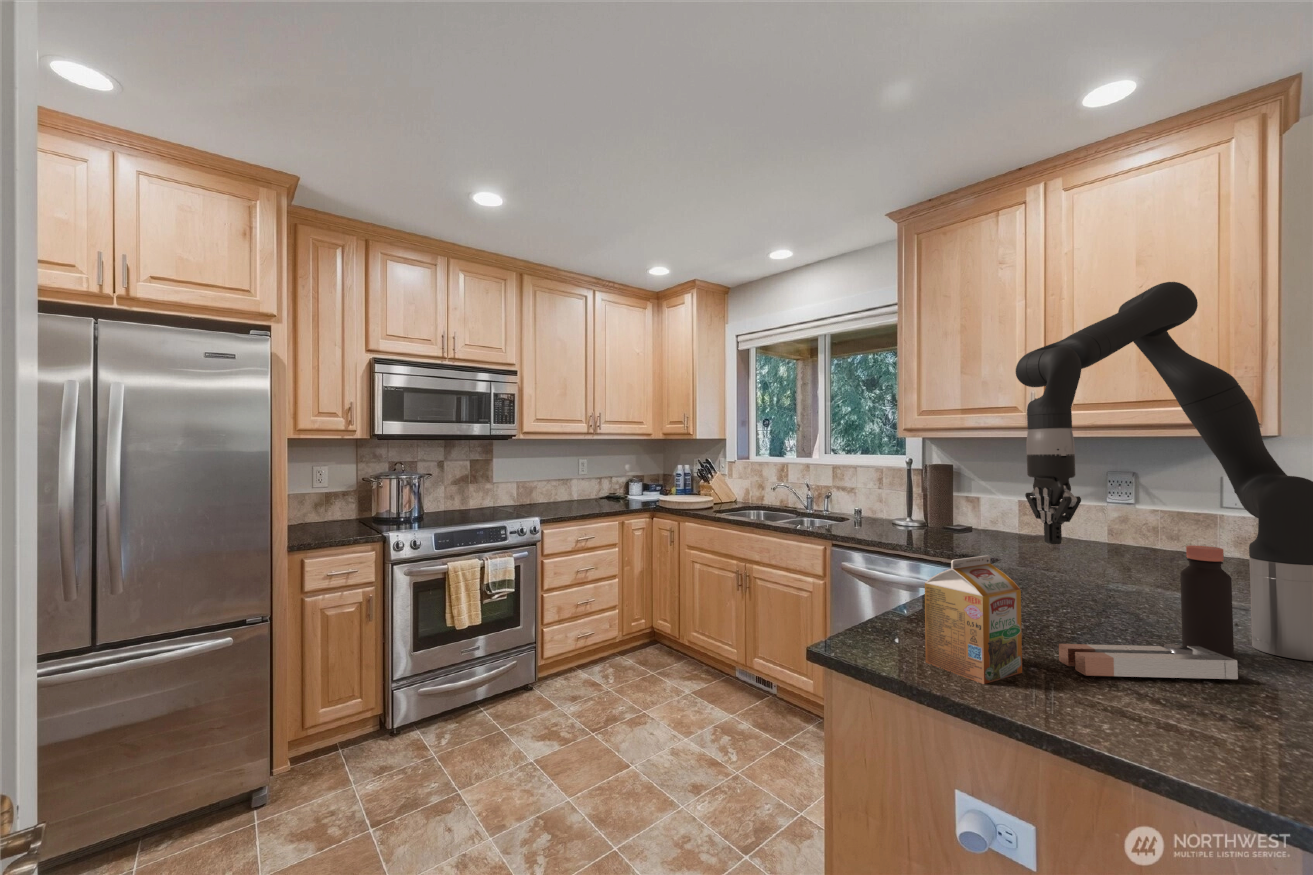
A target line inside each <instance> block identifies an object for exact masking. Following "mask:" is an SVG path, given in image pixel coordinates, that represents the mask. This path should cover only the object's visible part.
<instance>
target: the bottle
mask: <svg viewBox="0 0 1313 875" xmlns="http://www.w3.org/2000/svg"><path fill="white" fill-rule="evenodd" d="M1185 547H1186V548H1185V549H1186V550H1185V551H1186V552H1185V553H1186V558H1187V559H1186V561H1188V563H1189V564H1188V566H1186V567H1185V568H1184V569H1182V570H1181V571H1180V572H1179V575H1180V576H1179V577H1180V578H1179V579H1180V604H1181V605H1180V607H1181V608H1180V609H1181V612H1180V614H1181V639H1182V640H1181V646H1185V647H1187V646H1200V647H1202V648H1205V649H1208V650H1210V651H1213V652H1216V653H1218V654H1221V655H1224V656H1226V657H1229V658H1232V659H1235V650H1234V649H1235V647H1234V646H1235V645H1234V619H1233V618H1234V617H1233V615H1234V613H1233V589H1232V586H1233V585H1232V582H1233V580H1232V576H1230V574H1228V573H1227V572H1226V570H1223V569H1222V565H1223V564H1224V559H1225V558H1224V548H1221V547H1216V546H1207V545H1195V544H1193V545H1190V544H1189V545H1186V546H1185Z"/></svg>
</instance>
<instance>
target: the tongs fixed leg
mask: <svg viewBox="0 0 1313 875" xmlns="http://www.w3.org/2000/svg"><path fill="white" fill-rule="evenodd" d="M1187 647H1188V648H1191V649H1192V650H1193V655H1189V654H1143V653H1097V652H1075V666H1074V667H1075V671H1077V672H1079V673H1080V674H1082V675H1084V676H1085V677H1086V676H1091V677H1093V676H1094V677H1131V678H1134V677H1135V678H1136V677H1137V678H1167V679H1168V678H1171V679H1175V678H1176V679H1177V678H1179V679H1209V680H1210V679H1214V680H1215V679H1219V680H1238V679H1239V674H1238V673H1239V671H1238V670H1239V668H1238V660H1237V659H1235V658H1234V659H1232V658H1229V657H1226V656H1224V655H1221V654H1218V653H1216V652H1213V651H1210V650H1208V649H1205V648H1202V647H1200V646H1187Z"/></svg>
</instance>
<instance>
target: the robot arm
mask: <svg viewBox="0 0 1313 875" xmlns="http://www.w3.org/2000/svg"><path fill="white" fill-rule="evenodd" d="M1198 306H1199V304H1198V299H1197V296H1196V294H1195V293H1194V291H1193V290H1192V289H1191V288H1190V287H1189V286H1187V285H1185V284H1184V283H1181V282H1178V281H1177V282H1176V281H1167V282H1161V283H1158V284H1156V285H1154V286H1152V287H1150V288H1148V289H1146V290H1144V291H1143V292H1141V293H1139V294H1137V295H1136V296H1134V297H1132V298H1130V299H1128V300H1127V301H1125V302H1124V303H1122V304H1121V305H1120V306H1119V307H1118V311H1117V313H1115V314H1112V315H1111V316H1108V317H1106V318H1104V319H1101V320H1099V321H1097V322H1095V323H1093V324H1090V325H1089V326H1086V327H1084V328H1081V329H1080V330H1078V331H1076V332H1074V333H1072V334H1070V335H1068V336H1067V337H1065V338H1063V339H1061V340H1059V341H1056V342H1053V343H1051V344H1048V345H1045V346H1042V347H1039V348H1037V349H1034V350H1031V351H1029V352H1027V353H1026V354H1024V355H1023V356H1022V357H1021V358H1020V359H1019V361H1018V362H1017V364H1016V366H1015V376H1016V379H1017V380H1018V382H1020V383H1021V384H1023V385H1024V386H1026V387H1029V388H1043V387H1045V388H1044V391H1043V394H1042V395H1041V396H1039V397H1037V398H1035V399H1033V400H1031V401H1030V402H1028V403H1027V405H1026V406H1027V408H1026V419H1027V420H1026V422H1027V432H1026V433H1027V435H1026V444H1025V445H1026V467H1027V468H1026V473H1027V476H1028V477H1029V478H1034V479H1033V483H1032V488H1033V489H1032V491H1031V492H1026V493H1025V494H1024V496H1025V499H1026V501H1027V503H1028V504H1029V507H1030V509H1031V511H1032V513H1033V515H1034V517H1035V519H1036V520H1037V519H1038V520H1040V521H1041V523H1042V524H1043V537H1044V542H1045V544H1049V545H1060V544H1062V540H1063V538H1062V535H1063V534H1062V525H1063V524H1065V523H1070V522H1071V520H1072V519H1073V517H1074V515H1075V513H1076V511H1077V509H1078V508H1079V506H1080V504H1081V502H1082V498H1081V497H1080V496H1077V495H1074V494H1073V493H1072V492H1071V491H1072V485H1071V483H1070V479H1073V478H1075V477H1076V458H1075V457H1076V456H1075V454H1076V453H1075V439H1074V434H1073V414H1072V406H1073V402H1074V399H1075V397H1076V393H1077V390H1078V386H1079V383H1080V379H1081V375H1082V370H1083V369H1087V368H1088V367H1091V366H1093V365H1095V364H1097V363H1098V362H1100V361H1103V360H1105V359H1106V358H1108V357H1109V356H1112V354H1114V353H1116V352H1118V351H1119V350H1121V349H1123V348H1125V347H1126V346H1128V345H1129V344H1131V343H1134V345H1136V347H1137V348H1138V349H1139V350H1140V352H1141V353H1142V354H1143V355H1144V356H1145V357H1146V359H1147V360H1148V361H1149V362H1150V363H1151V365H1152V366H1153V367H1154V369H1155V371H1157V373H1158V375H1160V377H1161V378H1162V380H1163V381H1164V383H1165V384H1166V386H1167V387H1168V388H1169V391H1171V393H1172V395H1173V396H1174V398H1175V399H1176V401H1177V403H1178V405H1179V407H1180V408H1181V409H1182V411H1183V412H1184V414H1185V416H1186V417H1187V419H1188V420H1189V422H1190V423H1191V424H1192V425H1193V427H1194V428H1195V429H1196V431H1197V433H1198V434H1199V435H1200V437H1201V438H1202V439H1203V441H1204V442H1205V445H1207V447H1208V448H1209V450H1210V451H1211V452H1212V453H1213V455H1214V456H1215V458H1216V459H1217V460H1218V462H1219V463H1220V465H1221V466H1222V469H1223V470H1224V472H1225V475H1226V476H1227V478H1228V480H1229V482H1230V484H1231V486H1232V489H1233V490H1234V492H1235V494H1236V496H1237V499H1238V500H1239V502H1240V504H1241V506H1242V507H1243V509H1244V510H1246V511H1247V512H1248V513H1249V514H1250V515H1251V516H1253V517H1255V518H1256V519H1257V520H1258V523H1257V525H1258V527H1257V528H1258V529H1257V535H1256V538H1255V539H1254V540H1253V541H1252V542H1250V544H1248V551H1249V552H1248V555H1249V556H1248V559H1249V581H1250V582H1249V585H1250V586H1249V589H1250V590H1249V591H1250V615H1251V616H1250V617H1251V618H1250V619H1251V621H1250V622H1251V623H1250V624H1251V647H1252V648H1254V649H1256V650H1257V651H1260V652H1263V653H1267V654H1270V655H1273V656H1278V657H1282V658H1287V659H1294V660H1300V661H1309V662H1313V480H1311V479H1308V478H1306V477H1301V476H1295V475H1288V474H1287V473H1286V472H1285V471H1284V470H1283V468H1281V467H1280V465H1279V463H1277V461H1276V460H1275V458H1273V456H1272V455H1271V454H1270V452H1269V450H1268V449H1267V447H1266V445H1265V443H1264V440H1263V436H1262V432H1261V427H1260V423H1259V419H1258V414H1257V411H1256V409H1255V406H1254V404H1253V403H1252V401H1251V400H1250V398H1249V397H1248V395H1247V394H1246V391H1244V389H1243V388H1242V387H1241V385H1240V383H1239V382H1238V380H1237V379H1236V378H1235V377H1234V376H1232V374H1230V373H1229V372H1227V371H1225V370H1223V369H1221V368H1219V367H1217V366H1216V365H1213V364H1211V363H1209V362H1206V361H1204V360H1201V359H1200V358H1198V357H1196V356H1193V355H1191V354H1189V353H1188V352H1186V351H1185V350H1184V349H1182V348H1181V347H1180V345H1178V344H1177V342H1176V341H1175V340H1174V339H1173V338H1172V336H1171V335H1170V333H1169V332H1168V331H1169V330H1172V329H1174V328H1176V327H1179V326H1181V325H1182V324H1184V323H1186V322H1187V321H1189V320H1190V319H1191V318H1192V317H1193V316H1195V314H1196V312H1197V310H1198Z"/></svg>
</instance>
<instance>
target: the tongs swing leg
mask: <svg viewBox="0 0 1313 875" xmlns="http://www.w3.org/2000/svg"><path fill="white" fill-rule="evenodd" d="M1075 652H1097V653H1143V654H1189V655H1193V650H1192V649H1191V648H1188V647H1185V646H1182V645H1179V644H1173V643H1165V644H1164V645H1163V646H1161V645H1131V644H1130V645H1129V644H1127V645H1123V644H1087V643H1086V644H1085V643H1082V644H1079V643H1058V661H1059V662H1061V663H1062V664H1064V665H1066V666H1067V667H1075Z"/></svg>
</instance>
